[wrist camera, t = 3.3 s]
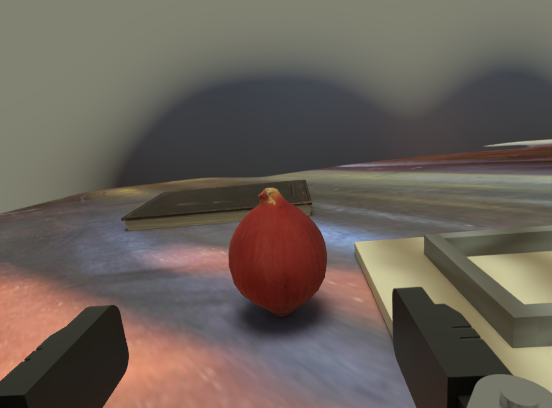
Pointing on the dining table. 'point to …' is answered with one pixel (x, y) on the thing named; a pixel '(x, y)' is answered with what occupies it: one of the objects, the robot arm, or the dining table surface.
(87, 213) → the dining table surface
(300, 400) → the dining table surface
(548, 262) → the cradle board
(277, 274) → the onion
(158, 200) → the hardcover book
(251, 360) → the dining table surface
